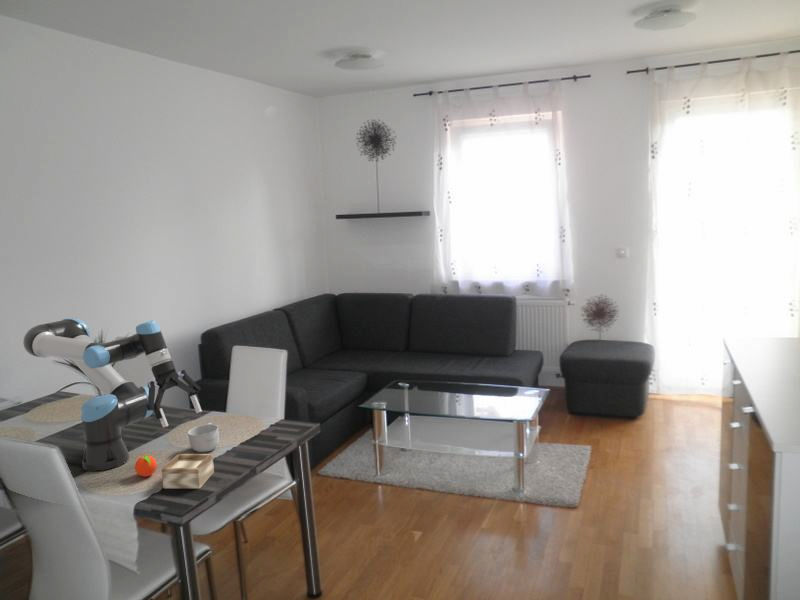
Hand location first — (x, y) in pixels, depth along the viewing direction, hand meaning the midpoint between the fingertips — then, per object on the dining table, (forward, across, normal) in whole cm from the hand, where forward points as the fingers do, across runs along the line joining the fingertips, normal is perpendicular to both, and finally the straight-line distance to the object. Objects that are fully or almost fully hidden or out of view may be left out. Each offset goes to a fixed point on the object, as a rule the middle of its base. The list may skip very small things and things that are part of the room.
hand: (183, 419), depth 222 cm
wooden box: (+19, -11, -10) cm, 24 cm away
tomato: (+13, -17, +4) cm, 22 cm away
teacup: (+14, +9, +8) cm, 18 cm away
